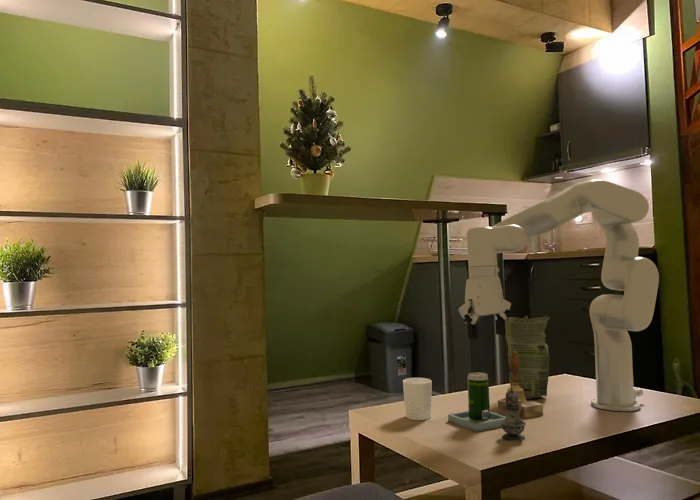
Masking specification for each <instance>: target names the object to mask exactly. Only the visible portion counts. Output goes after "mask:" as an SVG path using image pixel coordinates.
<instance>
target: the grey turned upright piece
mask: <svg viewBox="0 0 700 500" xmlns="http://www.w3.org/2000/svg"><path fill="white" fill-rule="evenodd" d="M510 387H511V386H510ZM505 398H506V405H505V406H504V407H505V408H506V418H505V419H504V420H502V421H500V423H501V424H502V427H501V428H502V430H503V431H504V432H505V433H504V434H502V436H501V438H502V439H503V440H505V441H509V442H522V441H525V440H526V437H525V436H524V435H523V434H522V433H524V430H525V428H526V427H525V426H526V425H527V423H526V421H524V420H522V419H521V417H520V416H519V408H520V406H519V405H518V393H517V392H515V391H513V388H512V387H511V390H510V391H508V392H506V393H505Z"/></svg>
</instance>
